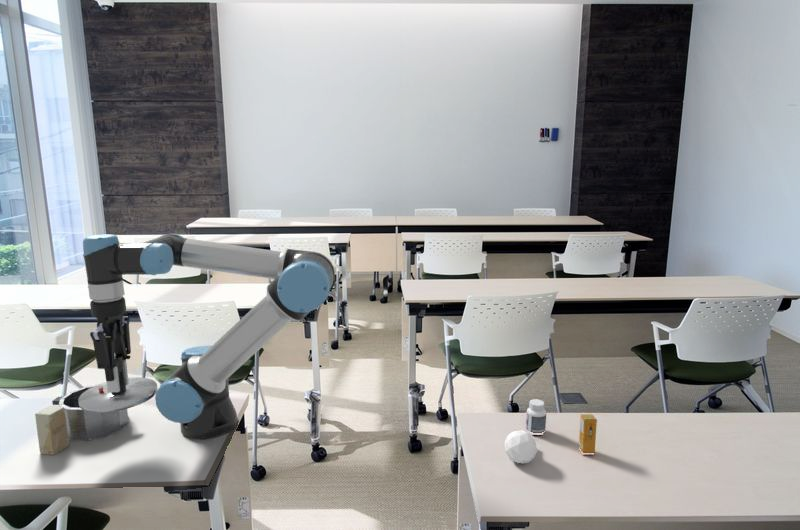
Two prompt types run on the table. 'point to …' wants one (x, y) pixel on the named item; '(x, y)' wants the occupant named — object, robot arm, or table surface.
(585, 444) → the supplement box
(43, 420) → the box
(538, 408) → the pill bottle
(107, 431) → the pot
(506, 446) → the white faceted ovoid
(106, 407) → the lid
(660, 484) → the table surface
